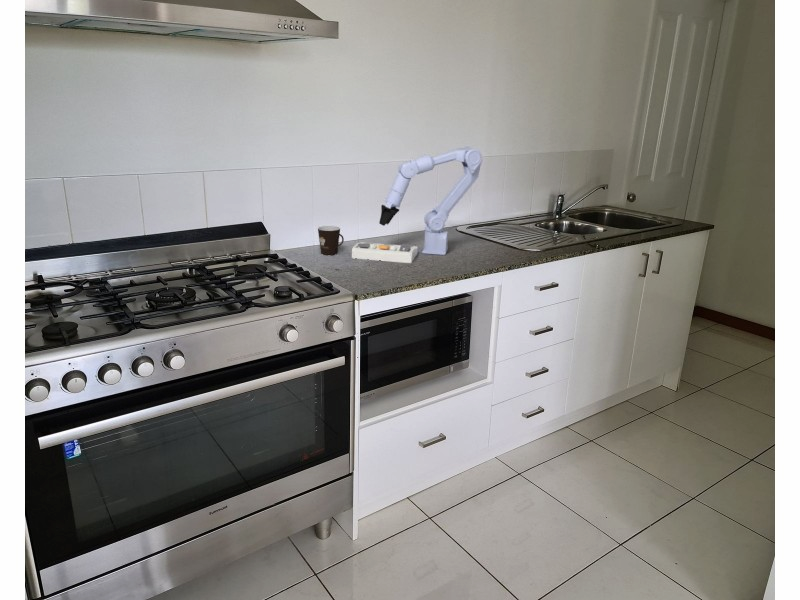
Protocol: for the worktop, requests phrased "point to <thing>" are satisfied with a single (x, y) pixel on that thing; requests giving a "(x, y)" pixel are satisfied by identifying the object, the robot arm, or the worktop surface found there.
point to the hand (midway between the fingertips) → (383, 224)
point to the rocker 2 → (404, 247)
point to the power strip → (384, 253)
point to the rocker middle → (384, 247)
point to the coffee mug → (329, 239)
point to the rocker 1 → (363, 245)
